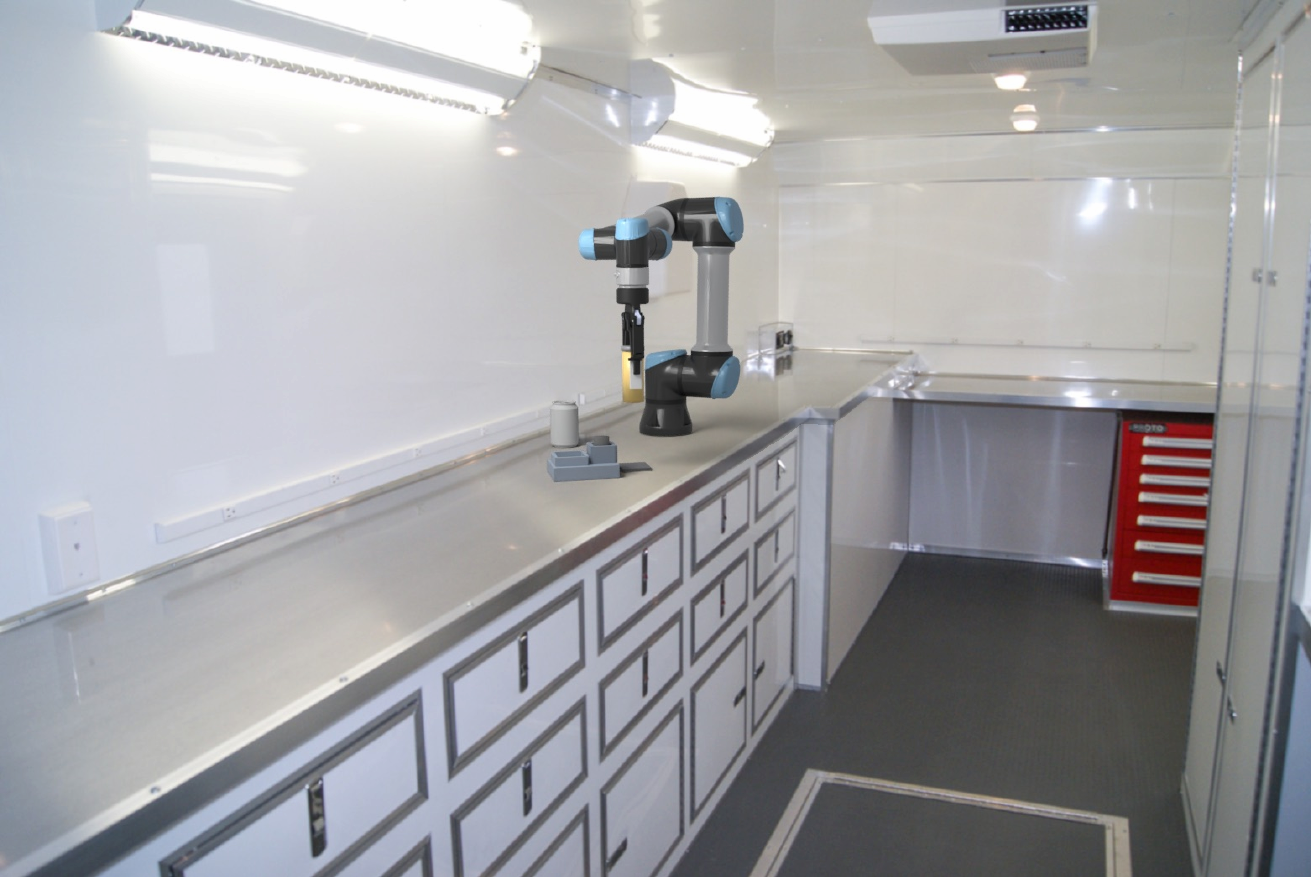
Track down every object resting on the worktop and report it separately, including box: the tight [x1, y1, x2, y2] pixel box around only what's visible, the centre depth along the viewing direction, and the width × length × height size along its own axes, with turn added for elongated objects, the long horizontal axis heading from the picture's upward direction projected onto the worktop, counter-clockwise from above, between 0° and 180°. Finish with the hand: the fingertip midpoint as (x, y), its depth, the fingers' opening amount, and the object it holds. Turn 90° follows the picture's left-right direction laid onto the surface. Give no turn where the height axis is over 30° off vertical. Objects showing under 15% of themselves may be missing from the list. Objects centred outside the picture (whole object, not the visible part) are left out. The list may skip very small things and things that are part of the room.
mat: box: [617, 461, 653, 473], centre depth 246 cm, size 7×7×1 cm
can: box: [549, 399, 580, 449], centre depth 273 cm, size 8×8×12 cm
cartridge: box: [620, 345, 645, 404], centre depth 242 cm, size 5×5×13 cm
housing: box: [546, 440, 621, 483], centre depth 238 cm, size 15×11×7 cm
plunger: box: [593, 435, 610, 446], centre depth 239 cm, size 4×4×5 cm
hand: (633, 386), depth 242 cm, fingers closed on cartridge, 5 cm apart
